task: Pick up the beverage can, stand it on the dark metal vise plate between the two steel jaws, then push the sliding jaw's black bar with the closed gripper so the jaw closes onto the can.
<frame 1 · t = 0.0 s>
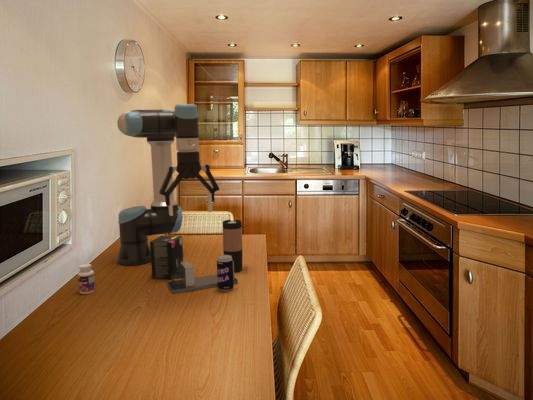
hand: (190, 213, 159), 28 cm above the table, fingers open, 13 cm apart
pill bottle: (87, 292, 166), on the table
travel mug: (233, 270, 187), on the table
vise base: (202, 284, 171), on the table
tampon box: (168, 275, 183), on the table
beverage can: (225, 289, 165), on the table
sliding jaw: (181, 274, 167), point 5 cm above the table, slide at 0.0 cm
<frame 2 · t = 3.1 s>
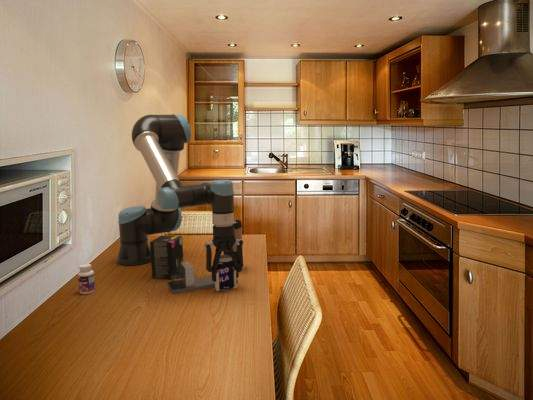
hand: (225, 288, 165), 0 cm above the table, fingers closed on beverage can, 6 cm apart
beverage can: (225, 289, 165), on the table, touching gripper
everything else where it was.
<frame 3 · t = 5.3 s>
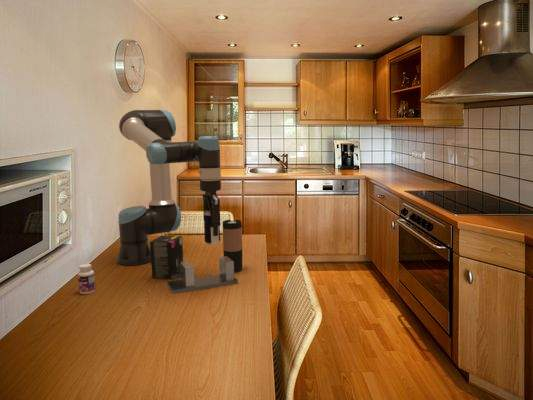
hand: (212, 242, 170), 15 cm above the table, fingers closed on beverage can, 6 cm apart
beverage can: (212, 243, 170), point 15 cm above the table, touching gripper
everything else where it was.
when the fingers open (3 cm above the table, at t = 7.4 s): beverage can drops 2 cm, resting on vise base.
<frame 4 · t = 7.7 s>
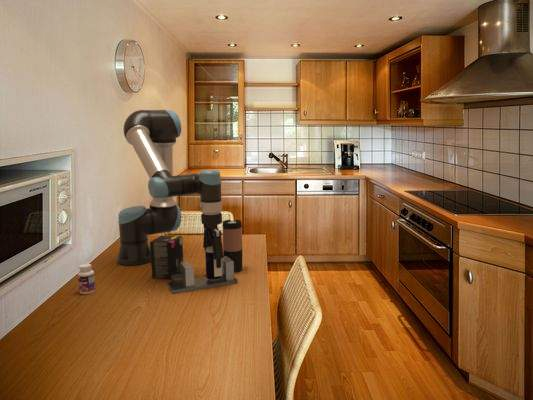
hand: (213, 271, 172), 4 cm above the table, fingers open, 10 cm apart
beverage can: (213, 279, 173), point 1 cm above the table, touching vise base
everything else where it was.
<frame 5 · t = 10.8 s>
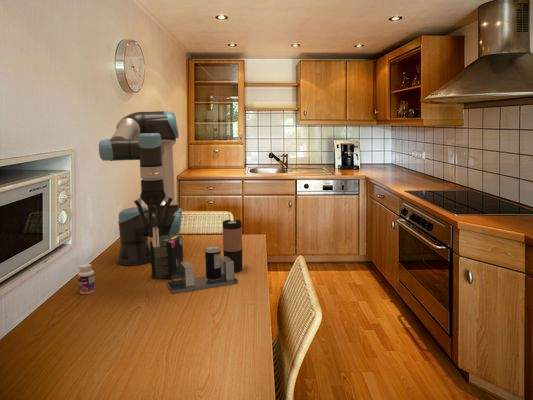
hand: (156, 246, 162), 16 cm above the table, fingers closed
nothing on the table moved.
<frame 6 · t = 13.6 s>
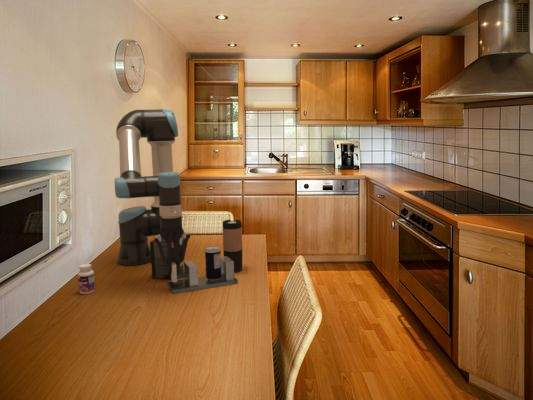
hand: (174, 280, 166), 3 cm above the table, fingers closed
sliding jaw: (185, 274, 168), point 5 cm above the table, slide at 1.4 cm, touching gripper
everything else where it was.
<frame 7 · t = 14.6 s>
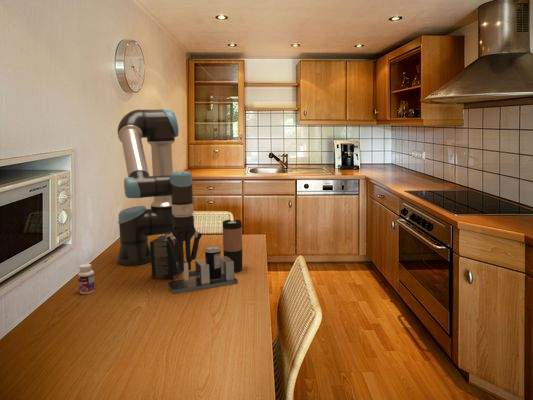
hand: (185, 279, 168), 3 cm above the table, fingers closed
beverage can: (213, 279, 173), point 1 cm above the table, touching sliding jaw, vise base
sliding jaw: (197, 272, 170), point 5 cm above the table, slide at 5.7 cm, touching beverage can, gripper
everything else where it was.
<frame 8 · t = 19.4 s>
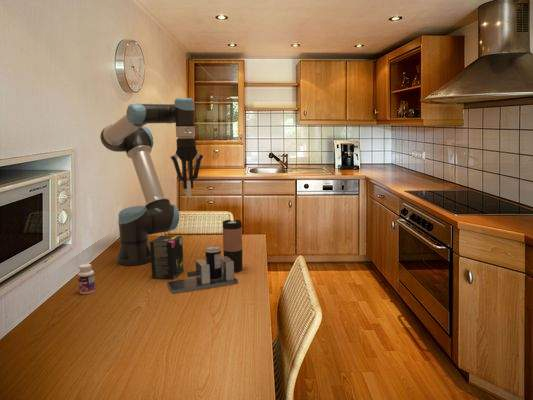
hand: (188, 196, 188), 29 cm above the table, fingers closed
beverage can: (214, 279, 173), point 1 cm above the table, touching vise base
sliding jaw: (197, 272, 170), point 5 cm above the table, slide at 5.8 cm
everything else where it was.
at the end: beverage can inside the target area (0.6 cm from its centre), point 1.0 cm above the table; beverage can tilted 0°; sliding jaw slide at 5.8 cm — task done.
